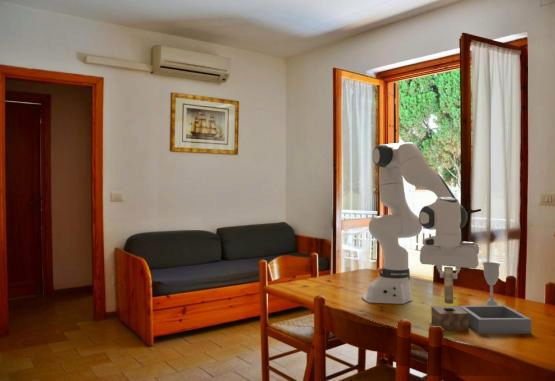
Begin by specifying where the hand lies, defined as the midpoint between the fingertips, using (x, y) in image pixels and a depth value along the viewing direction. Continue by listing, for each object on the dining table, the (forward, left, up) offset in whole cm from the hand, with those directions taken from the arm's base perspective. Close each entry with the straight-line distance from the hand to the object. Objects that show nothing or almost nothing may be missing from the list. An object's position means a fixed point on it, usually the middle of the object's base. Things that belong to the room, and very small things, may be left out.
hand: (448, 278), depth 163 cm
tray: (+16, 0, -18) cm, 24 cm away
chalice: (+28, +28, -18) cm, 43 cm away
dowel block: (0, 0, -18) cm, 18 cm away
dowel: (0, 0, -9) cm, 9 cm away
